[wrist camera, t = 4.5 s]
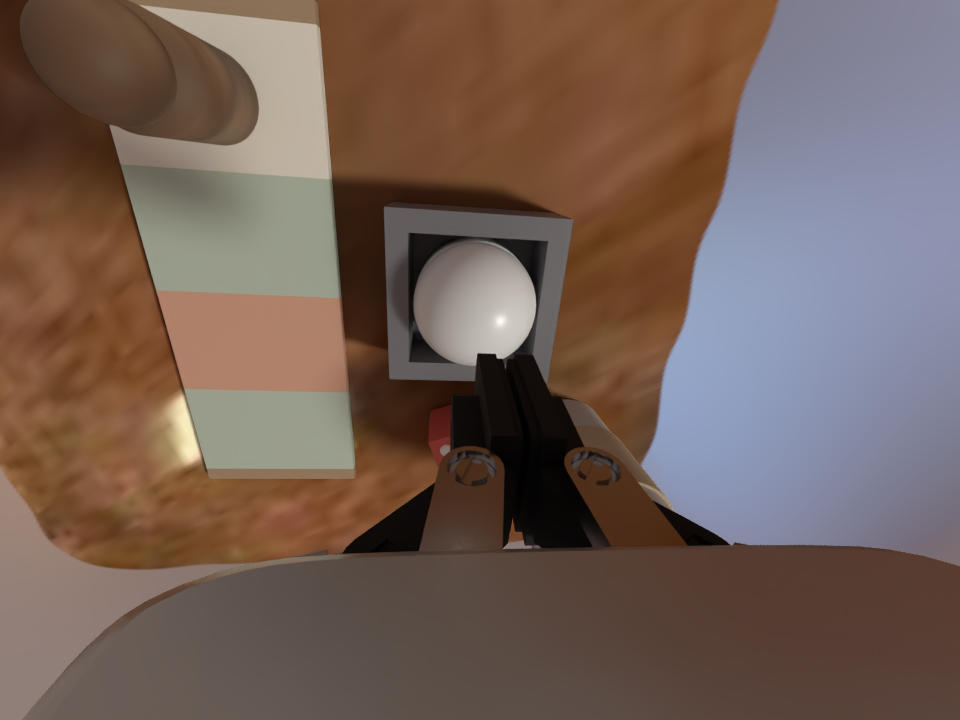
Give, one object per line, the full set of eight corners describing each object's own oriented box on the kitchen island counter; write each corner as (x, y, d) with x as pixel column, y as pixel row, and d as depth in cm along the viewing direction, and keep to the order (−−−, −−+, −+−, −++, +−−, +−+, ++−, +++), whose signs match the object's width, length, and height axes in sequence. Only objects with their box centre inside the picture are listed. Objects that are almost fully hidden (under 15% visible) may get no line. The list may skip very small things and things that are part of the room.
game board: (76, -25, 19) (65, -31, 18) (317, 3, 20) (314, -2, 19) (213, 473, 31) (209, 478, 31) (356, 473, 32) (354, 478, 32)
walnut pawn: (156, 40, 19) (-61, -60, 11) (251, 49, 20) (109, -39, 12) (179, 142, 21) (8, 122, 13) (264, 148, 22) (152, 133, 13)
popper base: (393, 201, 24) (383, 206, 20) (554, 212, 25) (573, 219, 21) (396, 352, 28) (389, 379, 24) (534, 357, 29) (547, 382, 25)
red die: (430, 410, 30) (427, 443, 27) (480, 396, 30) (484, 427, 26) (446, 450, 32) (446, 486, 28) (493, 436, 32) (499, 471, 28)
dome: (417, 230, 24) (407, 250, 18) (530, 237, 25) (559, 259, 18) (417, 336, 27) (408, 386, 21) (518, 340, 28) (539, 389, 21)
